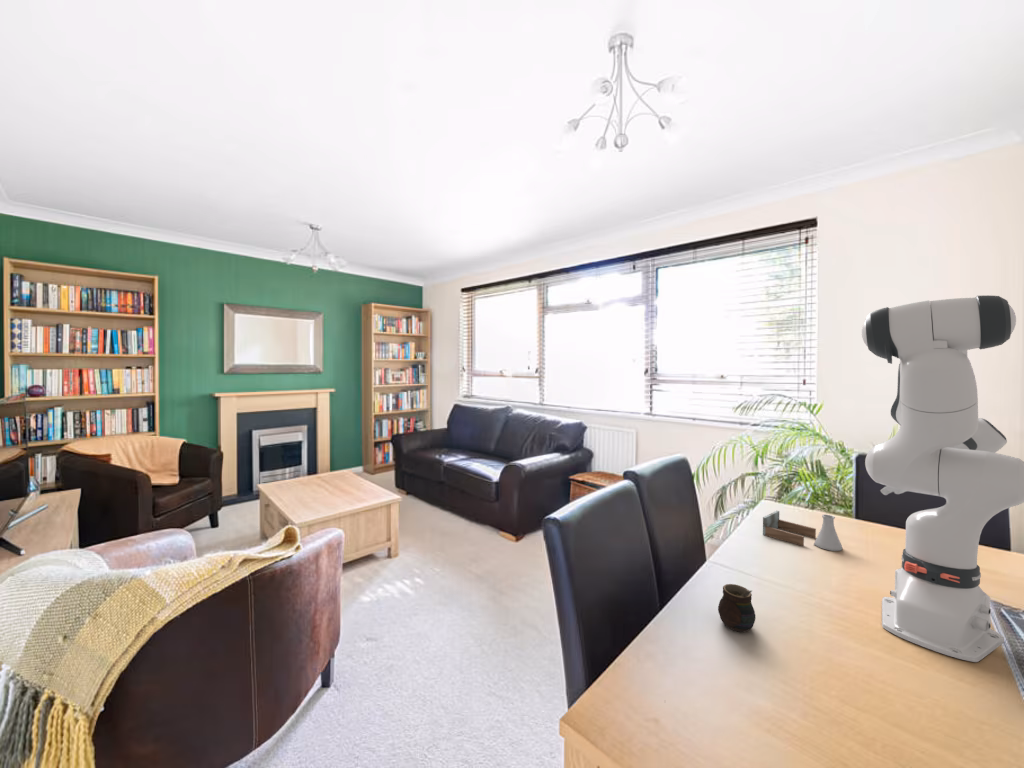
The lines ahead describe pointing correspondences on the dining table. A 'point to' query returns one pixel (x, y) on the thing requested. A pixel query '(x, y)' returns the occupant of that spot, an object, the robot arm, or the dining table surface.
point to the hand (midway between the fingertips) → (883, 492)
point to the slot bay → (773, 523)
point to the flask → (828, 535)
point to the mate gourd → (736, 608)
